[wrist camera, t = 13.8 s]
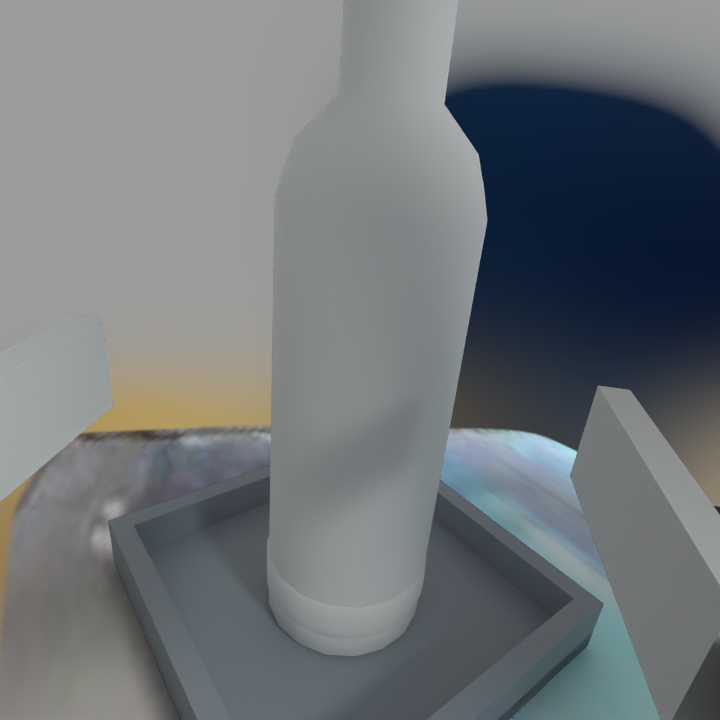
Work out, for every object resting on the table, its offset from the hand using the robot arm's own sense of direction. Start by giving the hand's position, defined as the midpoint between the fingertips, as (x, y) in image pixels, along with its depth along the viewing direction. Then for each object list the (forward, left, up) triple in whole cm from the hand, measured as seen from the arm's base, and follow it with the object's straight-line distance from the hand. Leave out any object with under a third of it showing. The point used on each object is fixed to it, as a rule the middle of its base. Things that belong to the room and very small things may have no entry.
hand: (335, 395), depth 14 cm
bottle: (-5, -5, -16) cm, 18 cm away
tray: (-5, -5, -17) cm, 18 cm away
